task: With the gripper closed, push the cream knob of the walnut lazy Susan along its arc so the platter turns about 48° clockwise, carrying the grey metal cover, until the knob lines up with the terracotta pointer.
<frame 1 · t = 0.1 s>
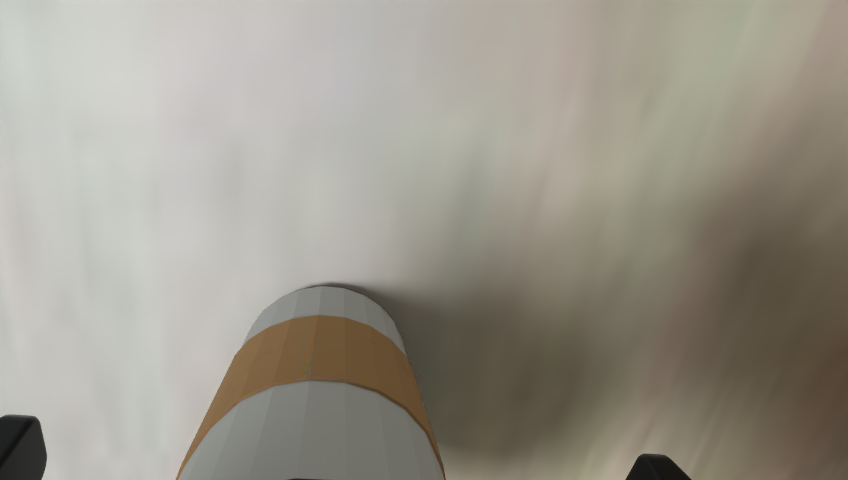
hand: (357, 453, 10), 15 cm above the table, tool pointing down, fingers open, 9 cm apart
coffee cup: (325, 348, 26), on the table
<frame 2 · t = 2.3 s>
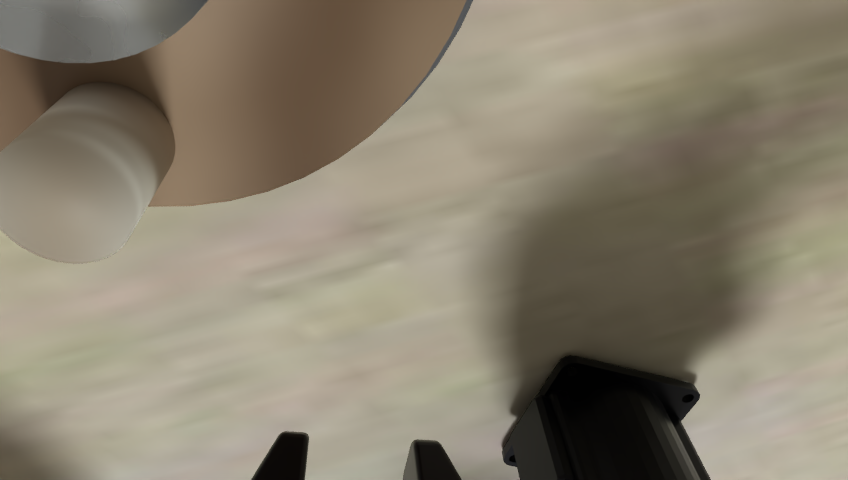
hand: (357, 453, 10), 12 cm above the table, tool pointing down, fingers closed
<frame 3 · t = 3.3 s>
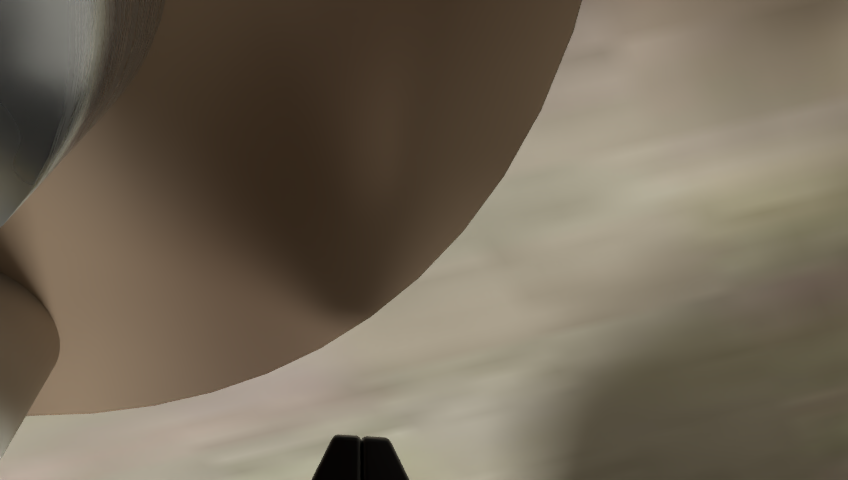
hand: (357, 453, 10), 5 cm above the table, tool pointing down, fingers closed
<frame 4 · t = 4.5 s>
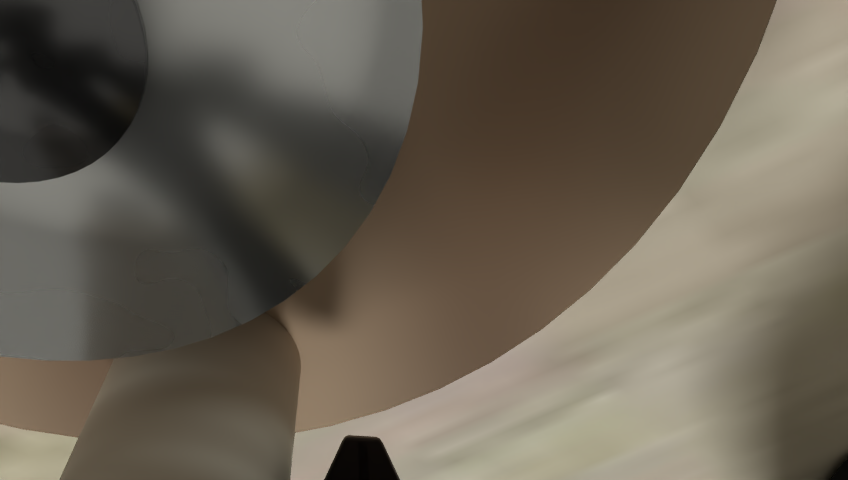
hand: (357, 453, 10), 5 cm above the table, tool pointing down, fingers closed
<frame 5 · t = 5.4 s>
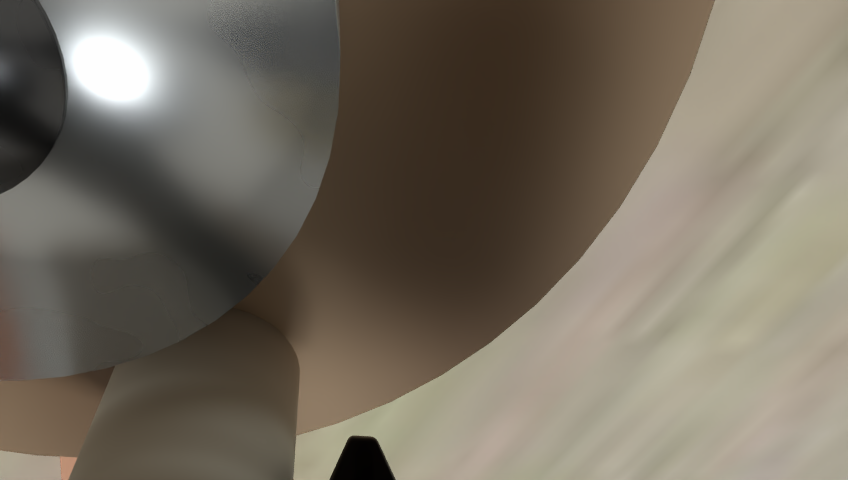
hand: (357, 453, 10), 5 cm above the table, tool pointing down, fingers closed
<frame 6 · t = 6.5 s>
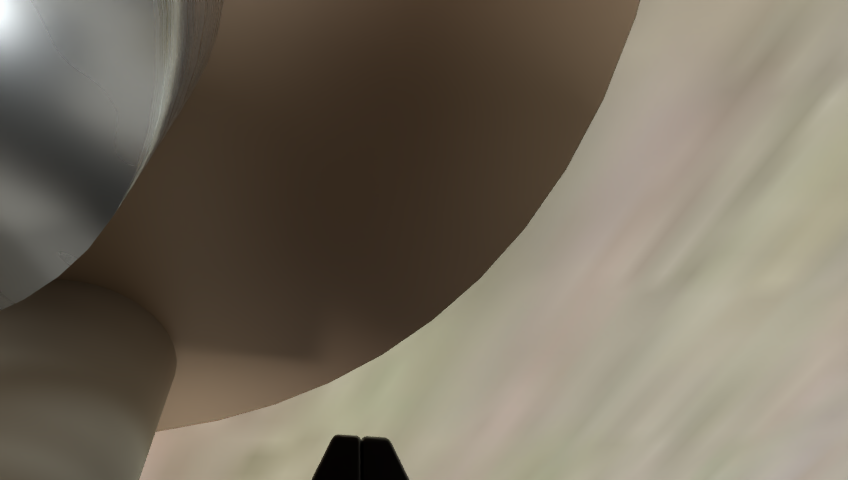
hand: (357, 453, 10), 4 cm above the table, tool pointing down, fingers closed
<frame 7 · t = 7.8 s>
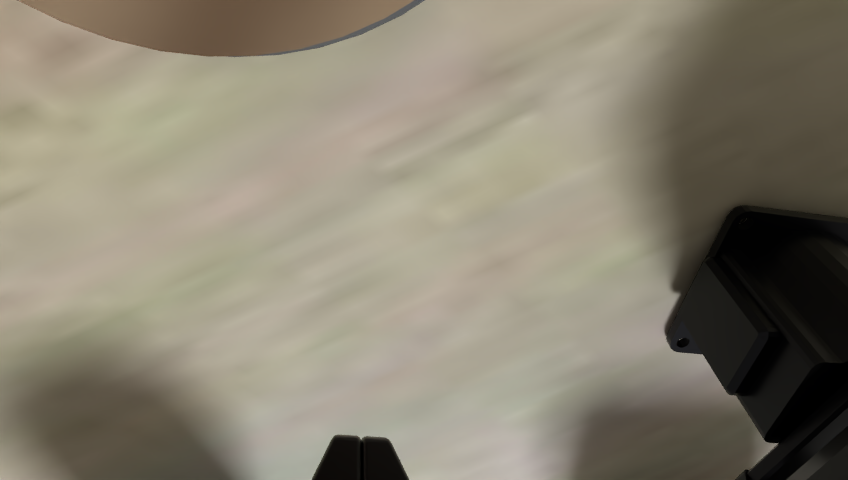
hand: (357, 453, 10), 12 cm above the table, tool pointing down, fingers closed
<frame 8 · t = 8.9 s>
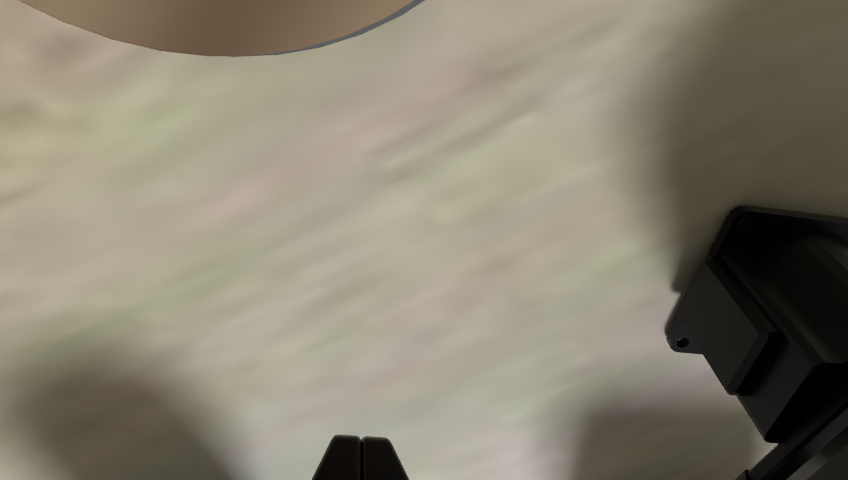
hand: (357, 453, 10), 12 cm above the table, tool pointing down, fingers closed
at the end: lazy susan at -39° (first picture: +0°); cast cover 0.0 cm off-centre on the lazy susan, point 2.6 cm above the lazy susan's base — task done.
